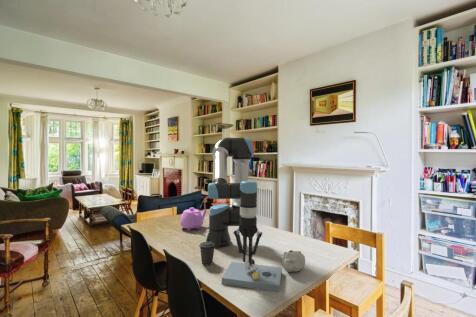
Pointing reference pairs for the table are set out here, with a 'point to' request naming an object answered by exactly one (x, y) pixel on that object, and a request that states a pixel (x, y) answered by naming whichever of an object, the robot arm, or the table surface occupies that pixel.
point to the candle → (293, 261)
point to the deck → (243, 278)
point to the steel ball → (252, 268)
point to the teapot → (192, 218)
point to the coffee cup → (207, 252)
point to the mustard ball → (255, 275)
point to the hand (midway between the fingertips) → (247, 269)
